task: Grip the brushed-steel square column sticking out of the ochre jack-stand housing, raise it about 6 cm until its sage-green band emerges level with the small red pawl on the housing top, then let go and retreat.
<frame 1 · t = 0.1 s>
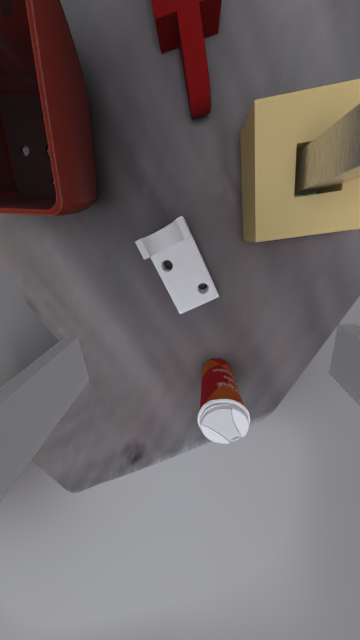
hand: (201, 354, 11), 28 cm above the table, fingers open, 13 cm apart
plant pot: (54, 152, 33), on the table
mechanical linkage: (189, 46, 28), on the table
bracket: (183, 266, 38), on the table
housing: (291, 183, 32), on the table
paper cup: (216, 369, 44), on the table
column: (332, 160, 22), point 10 cm above the table, slide at 0.0 cm
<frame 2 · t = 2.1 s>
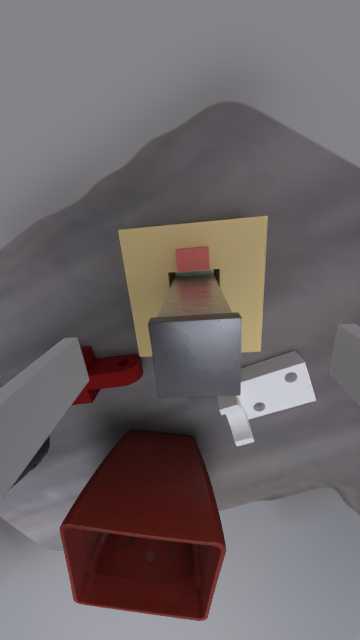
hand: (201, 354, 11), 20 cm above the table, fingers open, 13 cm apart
plant pot: (159, 454, 44), on the table
mechanical linkage: (98, 363, 37), on the table
bracket: (258, 379, 36), on the table
housing: (194, 280, 30), on the table
column: (195, 302, 21), point 10 cm above the table, slide at 0.0 cm
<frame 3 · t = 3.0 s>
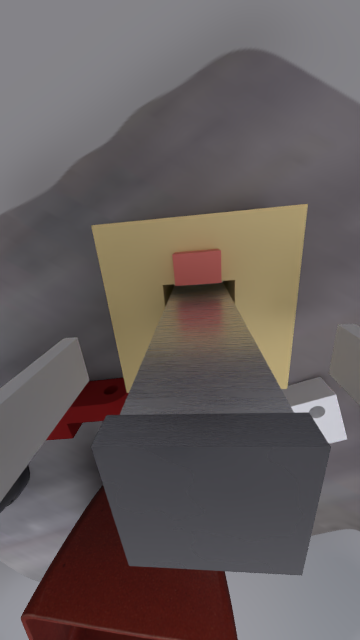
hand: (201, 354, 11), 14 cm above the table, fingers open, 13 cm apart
plant pot: (156, 488, 37), on the table
mechanical linkage: (83, 387, 31), on the table
bracket: (274, 409, 30), on the table
housing: (198, 290, 24), on the table
column: (200, 328, 14), point 10 cm above the table, slide at 0.0 cm
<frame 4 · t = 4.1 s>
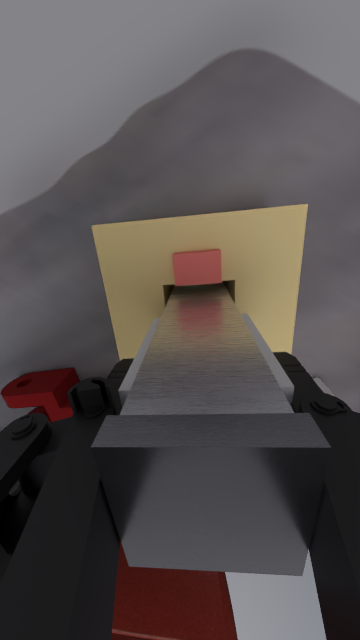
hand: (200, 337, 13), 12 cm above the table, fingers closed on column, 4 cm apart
plant pot: (156, 488, 37), on the table
mechanical linkage: (84, 387, 31), on the table
housing: (198, 290, 24), on the table
column: (200, 328, 14), point 10 cm above the table, slide at 0.0 cm, touching gripper
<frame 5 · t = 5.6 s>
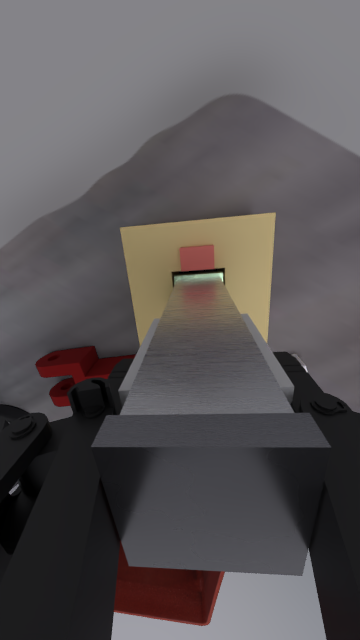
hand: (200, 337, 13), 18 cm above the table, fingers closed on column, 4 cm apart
plant pot: (161, 455, 43), on the table
mechanical linkage: (101, 363, 36), on the table
housing: (198, 280, 30), on the table
column: (200, 328, 14), point 16 cm above the table, slide at 6.0 cm, touching gripper
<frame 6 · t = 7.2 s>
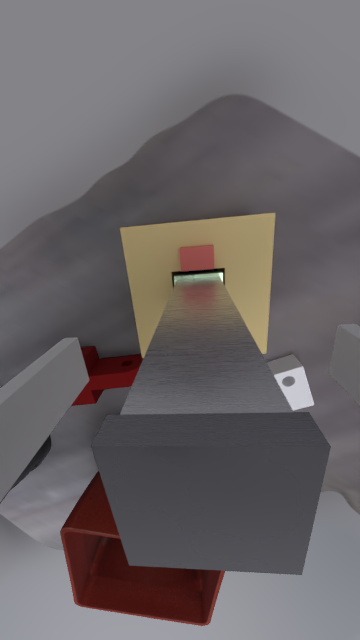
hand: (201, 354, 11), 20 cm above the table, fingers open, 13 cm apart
plant pot: (161, 455, 43), on the table
mechanical linkage: (102, 363, 36), on the table
bracket: (256, 383, 36), on the table
housing: (198, 280, 30), on the table
column: (200, 328, 15), point 16 cm above the table, slide at 6.0 cm
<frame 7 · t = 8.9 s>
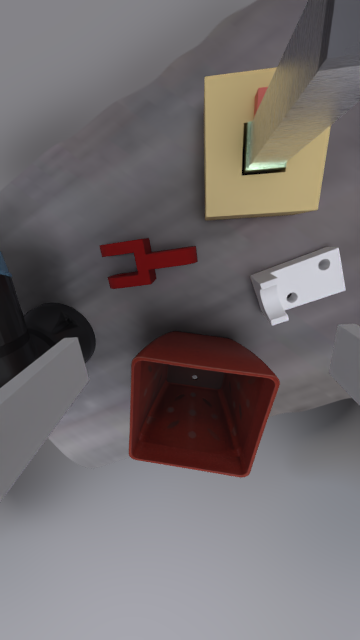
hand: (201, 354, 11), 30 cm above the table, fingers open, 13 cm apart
plant pot: (197, 359, 47), on the table
mechanical linkage: (153, 258, 40), on the table
bracket: (290, 280, 39), on the table
housing: (250, 167, 33), on the table
column: (292, 111, 18), point 16 cm above the table, slide at 6.0 cm
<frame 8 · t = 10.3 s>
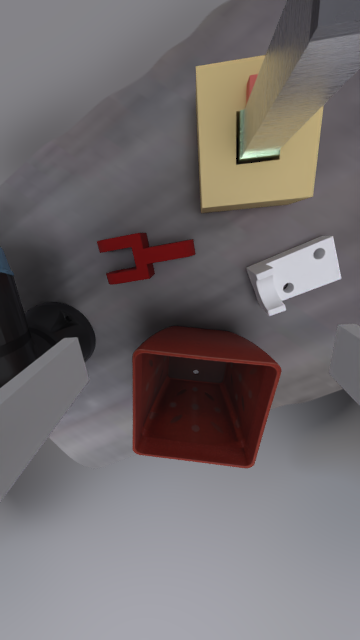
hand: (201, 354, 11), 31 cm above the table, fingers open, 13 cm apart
plant pot: (197, 354, 47), on the table
mechanical linkage: (151, 253, 40), on the table
bracket: (286, 270, 40), on the table
housing: (244, 157, 33), on the table
column: (285, 94, 18), point 16 cm above the table, slide at 6.0 cm
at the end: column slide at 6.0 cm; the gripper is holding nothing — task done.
